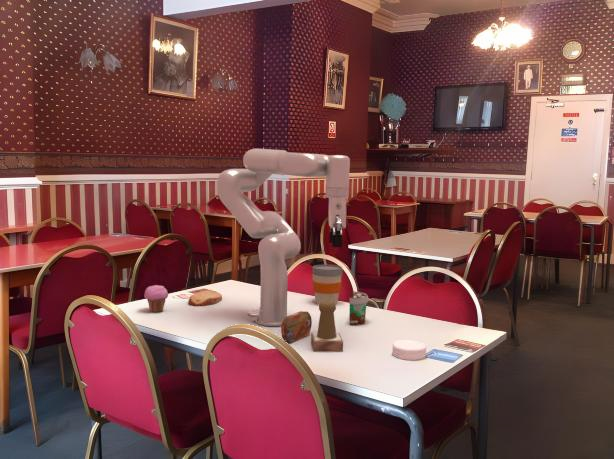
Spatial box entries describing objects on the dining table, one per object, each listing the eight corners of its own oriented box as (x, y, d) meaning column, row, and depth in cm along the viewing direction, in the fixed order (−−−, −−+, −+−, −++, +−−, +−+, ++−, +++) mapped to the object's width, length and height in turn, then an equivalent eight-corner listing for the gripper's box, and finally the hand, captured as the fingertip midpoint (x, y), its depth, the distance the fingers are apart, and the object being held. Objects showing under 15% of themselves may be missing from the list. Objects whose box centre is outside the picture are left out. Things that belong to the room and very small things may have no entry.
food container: (366, 327, 206) (367, 299, 205) (348, 326, 207) (349, 298, 206) (369, 318, 218) (370, 292, 217) (353, 317, 219) (353, 291, 218)
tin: (287, 345, 184) (287, 318, 183) (278, 343, 186) (279, 317, 185) (312, 334, 197) (312, 309, 196) (304, 332, 198) (304, 308, 198)
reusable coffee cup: (306, 301, 245) (306, 265, 243) (332, 298, 250) (333, 263, 248) (319, 307, 233) (320, 270, 232) (347, 305, 239) (348, 268, 237)
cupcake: (168, 313, 220) (168, 287, 219) (144, 314, 218) (143, 287, 217) (168, 307, 228) (167, 282, 227) (144, 308, 226) (144, 283, 225)
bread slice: (213, 294, 255) (213, 286, 255) (235, 302, 241) (235, 293, 240) (175, 299, 244) (175, 290, 244) (195, 308, 230) (195, 299, 230)
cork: (317, 339, 180) (318, 303, 178) (315, 333, 186) (316, 299, 184) (337, 339, 180) (338, 303, 179) (335, 333, 186) (335, 299, 185)
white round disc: (389, 350, 182) (389, 339, 181) (420, 350, 182) (421, 339, 182) (396, 361, 172) (396, 349, 171) (429, 361, 172) (430, 349, 172)
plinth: (313, 351, 178) (313, 340, 178) (311, 342, 187) (311, 332, 187) (343, 351, 179) (343, 340, 179) (339, 342, 188) (339, 332, 187)
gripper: (351, 195, 184) (349, 249, 186) (345, 192, 201) (343, 241, 203) (328, 194, 184) (326, 248, 186) (323, 191, 201) (321, 241, 203)
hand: (335, 245), depth 194 cm, fingers open, 9 cm apart
